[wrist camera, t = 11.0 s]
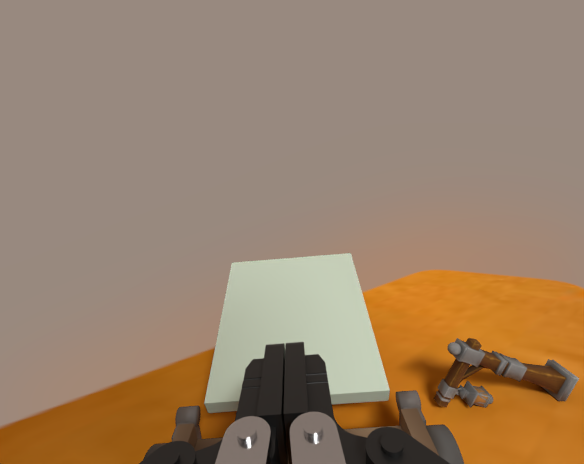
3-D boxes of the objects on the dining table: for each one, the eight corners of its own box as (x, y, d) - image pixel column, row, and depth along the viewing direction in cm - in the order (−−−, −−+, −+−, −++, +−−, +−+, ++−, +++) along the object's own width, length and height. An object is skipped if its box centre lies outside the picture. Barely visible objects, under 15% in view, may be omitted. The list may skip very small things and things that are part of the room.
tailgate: (204, 403, 18) (232, 262, 28) (208, 413, 18) (234, 271, 28) (389, 390, 18) (350, 253, 28) (388, 400, 18) (350, 262, 28)
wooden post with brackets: (416, 388, 21) (446, 326, 20) (521, 413, 22) (554, 356, 21) (430, 410, 19) (465, 343, 18) (543, 436, 20) (580, 375, 19)
